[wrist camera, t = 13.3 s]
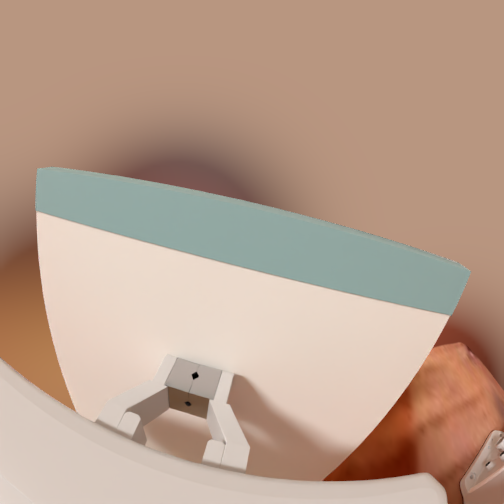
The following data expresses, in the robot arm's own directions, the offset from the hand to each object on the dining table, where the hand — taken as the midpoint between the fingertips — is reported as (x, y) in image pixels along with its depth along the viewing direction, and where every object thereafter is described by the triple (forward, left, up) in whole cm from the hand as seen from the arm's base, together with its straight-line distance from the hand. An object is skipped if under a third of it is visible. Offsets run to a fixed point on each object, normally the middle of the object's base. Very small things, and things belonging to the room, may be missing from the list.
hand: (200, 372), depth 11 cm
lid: (0, 0, -2) cm, 2 cm away
